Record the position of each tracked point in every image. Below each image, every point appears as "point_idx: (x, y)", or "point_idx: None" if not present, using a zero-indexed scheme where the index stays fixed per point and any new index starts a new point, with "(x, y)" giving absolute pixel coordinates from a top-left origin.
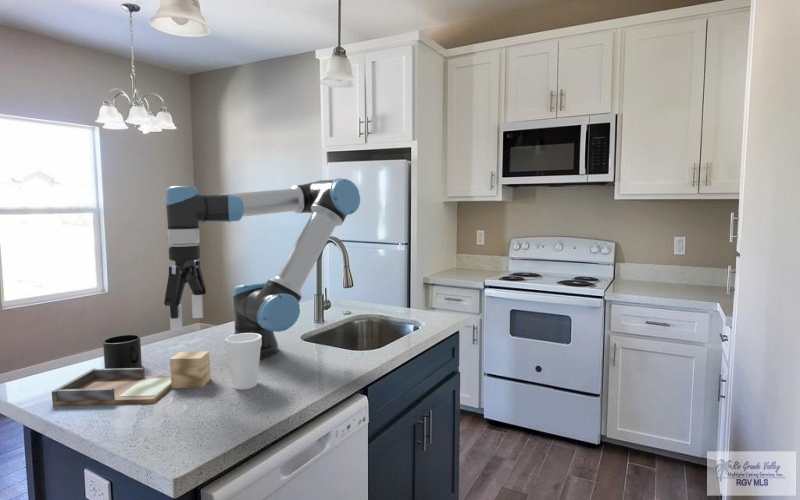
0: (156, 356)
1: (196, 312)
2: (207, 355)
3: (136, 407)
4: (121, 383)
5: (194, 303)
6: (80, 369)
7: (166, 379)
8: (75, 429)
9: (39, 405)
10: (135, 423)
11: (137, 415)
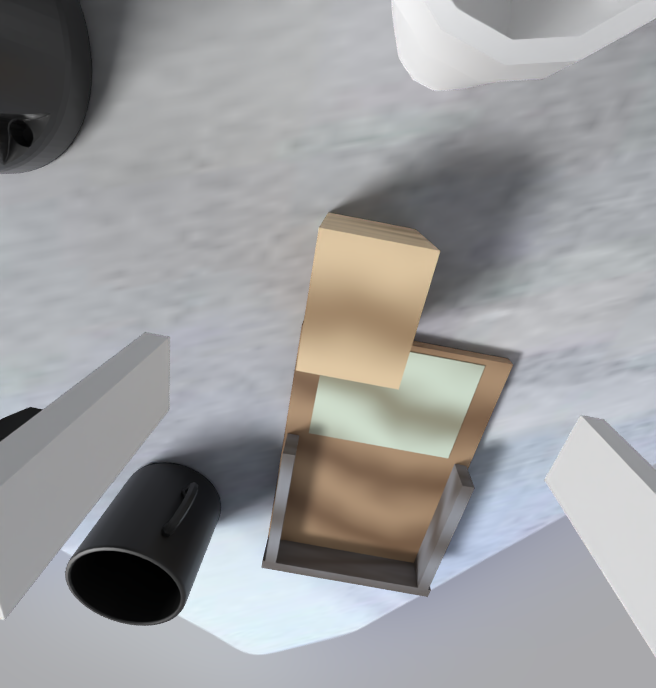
0: None
1: (145, 408)
2: (345, 230)
3: (520, 396)
4: (335, 475)
5: (86, 489)
6: None
7: None
8: None
9: None
10: (649, 371)
11: (588, 379)
